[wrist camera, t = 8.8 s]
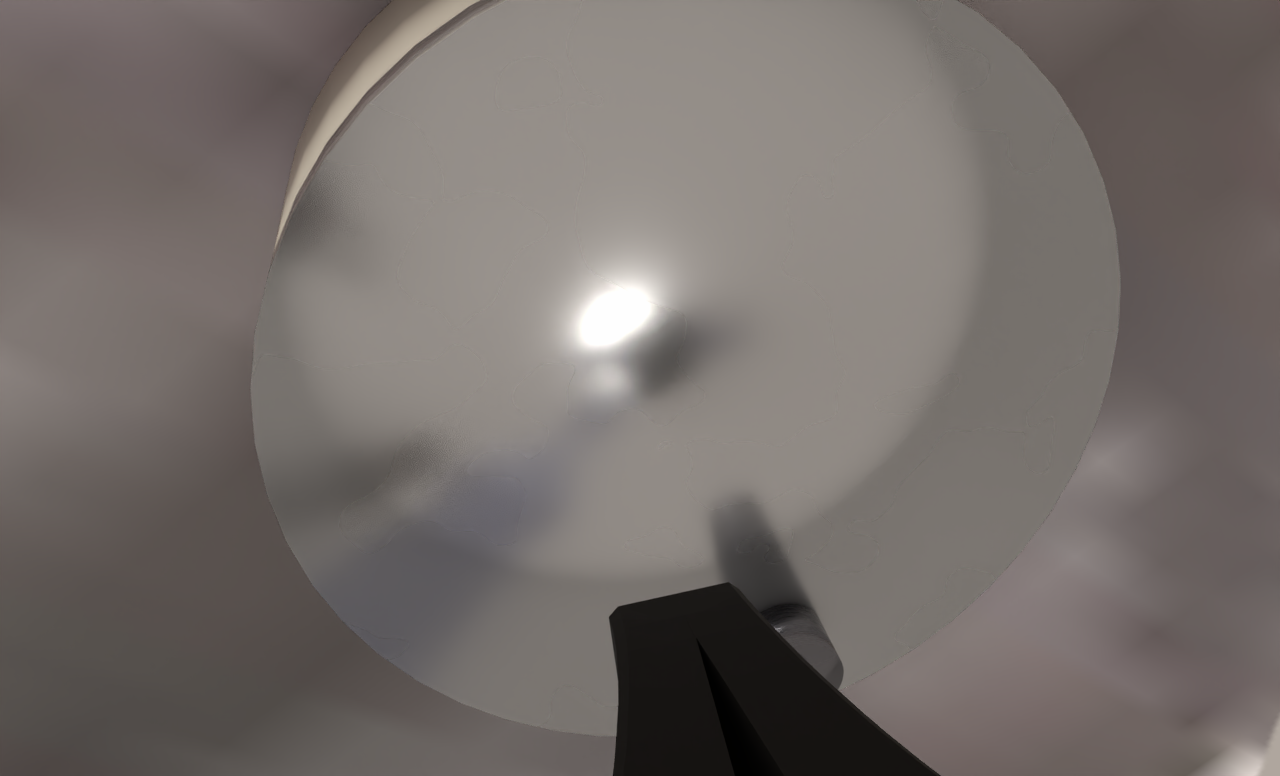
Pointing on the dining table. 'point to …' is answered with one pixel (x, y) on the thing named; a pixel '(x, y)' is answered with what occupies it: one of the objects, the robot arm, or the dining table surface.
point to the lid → (681, 334)
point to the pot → (363, 76)
